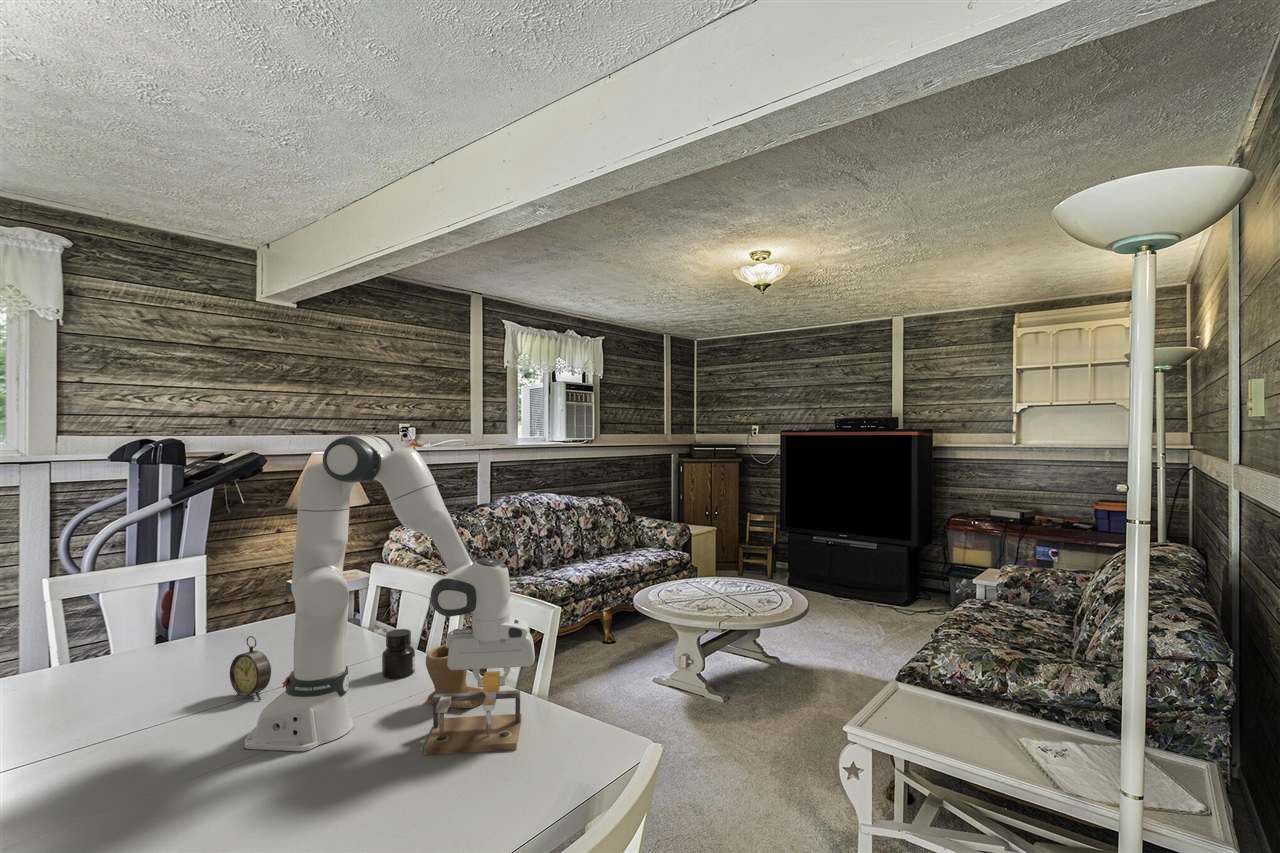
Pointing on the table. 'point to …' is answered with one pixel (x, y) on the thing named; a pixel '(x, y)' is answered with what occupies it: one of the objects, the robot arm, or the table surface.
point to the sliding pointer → (490, 695)
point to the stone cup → (448, 678)
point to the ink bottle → (398, 655)
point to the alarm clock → (250, 672)
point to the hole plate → (472, 727)
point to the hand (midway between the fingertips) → (491, 685)
